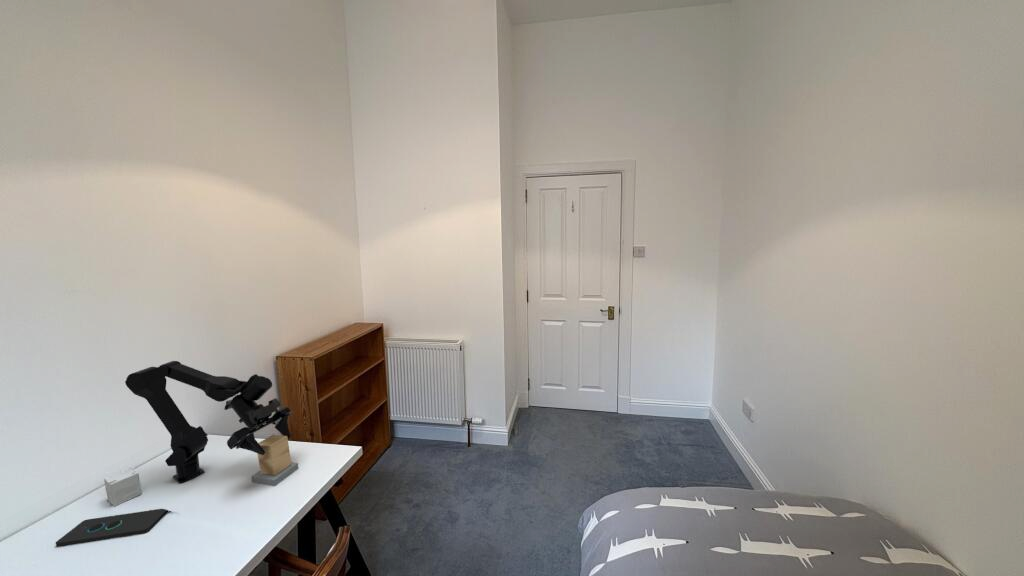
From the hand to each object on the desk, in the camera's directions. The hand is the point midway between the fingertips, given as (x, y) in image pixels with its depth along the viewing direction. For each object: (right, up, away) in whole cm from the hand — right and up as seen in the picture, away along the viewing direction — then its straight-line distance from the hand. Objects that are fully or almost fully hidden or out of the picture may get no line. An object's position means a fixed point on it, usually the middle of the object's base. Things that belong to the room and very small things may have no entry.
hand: (277, 445), depth 113 cm
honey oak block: (-1, -8, +1) cm, 8 cm away
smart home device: (-32, -15, -18) cm, 40 cm away
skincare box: (-43, -13, -6) cm, 45 cm away
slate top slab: (-1, -10, +1) cm, 11 cm away
